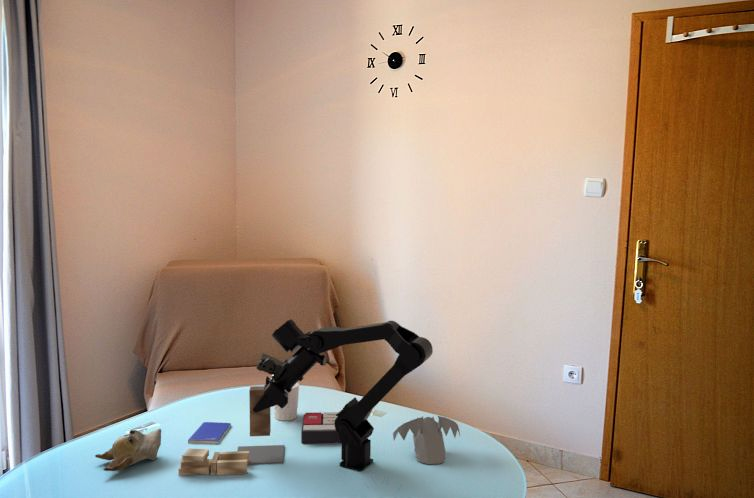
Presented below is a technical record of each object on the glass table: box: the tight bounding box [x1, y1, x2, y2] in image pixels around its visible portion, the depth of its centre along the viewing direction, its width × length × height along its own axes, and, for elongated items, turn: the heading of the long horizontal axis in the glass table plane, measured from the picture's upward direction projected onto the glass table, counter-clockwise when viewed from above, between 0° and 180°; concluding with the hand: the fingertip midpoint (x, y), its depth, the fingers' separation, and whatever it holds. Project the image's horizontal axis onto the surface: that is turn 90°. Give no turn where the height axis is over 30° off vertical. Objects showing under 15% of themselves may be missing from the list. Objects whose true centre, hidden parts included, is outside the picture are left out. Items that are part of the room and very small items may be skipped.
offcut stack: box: [177, 448, 212, 476], centre depth 144 cm, size 7×6×4 cm
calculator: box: [300, 411, 341, 445], centre depth 168 cm, size 11×4×15 cm
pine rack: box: [210, 450, 250, 476], centre depth 145 cm, size 8×6×3 cm
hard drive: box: [187, 421, 232, 445], centre depth 165 cm, size 2×8×12 cm
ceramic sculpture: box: [94, 428, 162, 472], centre depth 147 cm, size 11×9×15 cm
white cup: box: [273, 382, 300, 422], centre depth 179 cm, size 8×8×10 cm
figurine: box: [392, 415, 461, 465], centre depth 155 cm, size 18×13×11 cm
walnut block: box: [248, 385, 272, 437], centre depth 152 cm, size 5×3×12 cm, turn 97°
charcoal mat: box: [236, 444, 285, 465], centre depth 153 cm, size 12×10×1 cm
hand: (254, 408), depth 151 cm, fingers closed on walnut block, 3 cm apart
